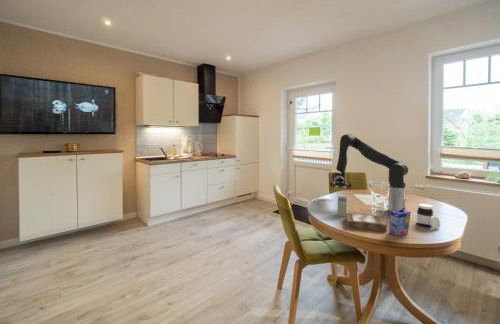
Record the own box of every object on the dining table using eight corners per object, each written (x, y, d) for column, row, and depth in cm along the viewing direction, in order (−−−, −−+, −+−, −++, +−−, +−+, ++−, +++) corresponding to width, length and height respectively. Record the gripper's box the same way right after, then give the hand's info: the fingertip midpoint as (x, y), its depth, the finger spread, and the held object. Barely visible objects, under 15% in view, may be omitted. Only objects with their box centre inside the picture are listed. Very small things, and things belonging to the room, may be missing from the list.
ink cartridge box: (398, 236, 132) (400, 210, 130) (388, 232, 137) (389, 207, 135) (409, 233, 136) (411, 207, 134) (399, 229, 141) (401, 204, 139)
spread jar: (417, 220, 154) (418, 202, 153) (440, 224, 147) (442, 205, 146) (414, 226, 145) (416, 207, 144) (439, 231, 138) (441, 210, 137)
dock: (381, 222, 151) (381, 215, 151) (386, 231, 138) (387, 224, 138) (345, 219, 157) (346, 212, 156) (347, 227, 144) (348, 220, 143)
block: (345, 214, 166) (346, 196, 165) (345, 216, 163) (346, 198, 161) (337, 213, 168) (338, 196, 166) (337, 215, 164) (338, 198, 162)
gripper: (330, 176, 191) (330, 180, 175) (350, 177, 187) (352, 182, 171) (329, 186, 192) (330, 191, 176) (349, 187, 188) (351, 192, 172)
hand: (341, 186), depth 174 cm, fingers open, 8 cm apart
